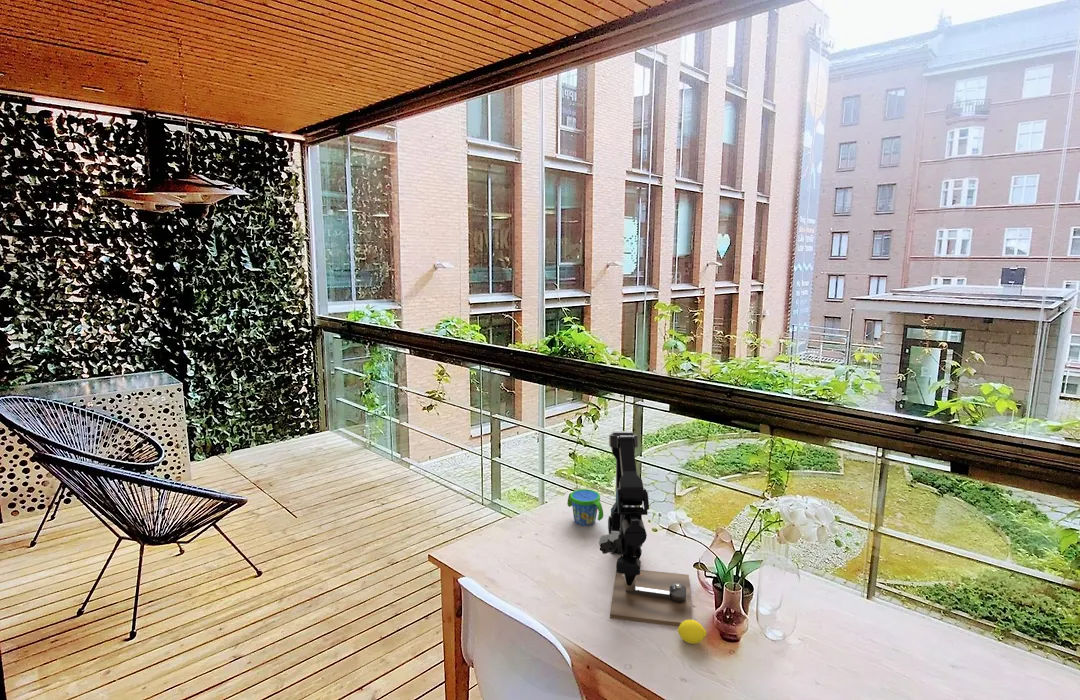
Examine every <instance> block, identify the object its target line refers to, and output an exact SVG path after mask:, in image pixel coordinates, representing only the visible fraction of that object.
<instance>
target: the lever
mask: <svg viewBox="0 0 1080 700" xmlns="http://www.w3.org/2000/svg"><path fill="white" fill-rule="evenodd" d="M624 588H625V589H626V593H633V594H640V595H647V596H654V597H662V598H670V600H671V601H673V602H676V603H683V602H685V601H686V587H685V586H684V585H682V584H678V583H674V584H671V585H670V591H664V590H657V589H650V588H643V587H636V577H635V579H634V581H633V583H632V584H631V586H629V585H627V583H626V579H625V575H624Z"/></svg>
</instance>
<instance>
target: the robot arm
mask: <svg viewBox="0 0 1080 700" xmlns="http://www.w3.org/2000/svg"><path fill="white" fill-rule="evenodd" d="M608 435H609V437H608V444H609V447H610V449H611V453H612V455H613V457H614V458H615V502H614V504H613V505H612V507H611V508H610V515H609V516H608V519H607V530H608V534H607V533H606V534H604V535H601V536H600V537H599V541H598V544H599V551H600V552H601V553H602V554H603V555H606V554H608V553H609V554H617V555H621V556H619V557H618V558H617V559H616V563H615V564H616V565H615V567H616V568H615V569H616V570H615V573H616V572H617V573H622V574H624V575H625V579H626V583H627V585H629V586H631V584H632V583H633V581H634V579H635V577H636V575H640V570H641V568H642V567H641V566H642V565H641V564H642V562H641V560H640V559H641V556H642V551H643V550H642V547H643V544H644V543H645V542H646V539H647V537H648V534H647V531H646V528H645V525H644V521H643V519H642V516H647V515H648V510H650V503H649V495H648V494H649V493H648V491H647V489H646V488H645V487H644V483H643V479H642V478H641V477H640V476H639V475H638V473H637V465H636V464H637V463H636V454H635V451H636V448H638V447H639V446H638V445H639V442H638V441H639V437H638V435H637V434H634V432H633V430H632V431H631V430H628V431H627V430H619V431H618V430H613V431H612V433H611V434H608ZM641 506H643V507H641Z"/></svg>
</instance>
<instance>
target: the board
mask: <svg viewBox="0 0 1080 700" xmlns="http://www.w3.org/2000/svg"><path fill="white" fill-rule="evenodd" d="M674 583H678V584H682V585H684V586H685V587H686V601H685V602H683V603H676V602H673V601H671V600H670V598H662V597H654V596H647V595H640V594H633V593H626V589H625V588H624V574H622V573H617V572H616V571H615V575H614V583H613V591H612V597H611V604H610V609H609V619H611V620H619V621H621V620H622V621H628V622H637V623H645V624H652V625H653V624H654V625H660V626H661V625H662V626H663V625H664V626H670V627H677V628H678V627H679V626H680V624H681V623H682V622H683V621H685V620H693V612H692V611H693V609H692V600H691V599H692V598H691V597H692V596H691V587H690V586H691V585H690V575H689V574H685V573H675V572H668V571H667V572H665V571H658V570H657V571H656V570H646V569H645V570H644V569H640V575H636V587H643V588H650V589H657V590H664V591H670V585H671V584H674Z"/></svg>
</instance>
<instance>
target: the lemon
mask: <svg viewBox="0 0 1080 700" xmlns="http://www.w3.org/2000/svg"><path fill="white" fill-rule="evenodd" d="M677 633H678V635H679V637H680V639H681V640H683V641H684V642H685V643H687V644H688V643H689V644H692V645H696V644H699V643H701V642H702V641H703V640H704V638H705V637H706V635H707V634H708V632H707V630H706V629H705V628H704V627H703V626H702V624H701V623H699V622H698V621H697V620H695V619H692V620H685V621H683V622H682V623H681V624H680V626H679V627H677Z"/></svg>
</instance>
